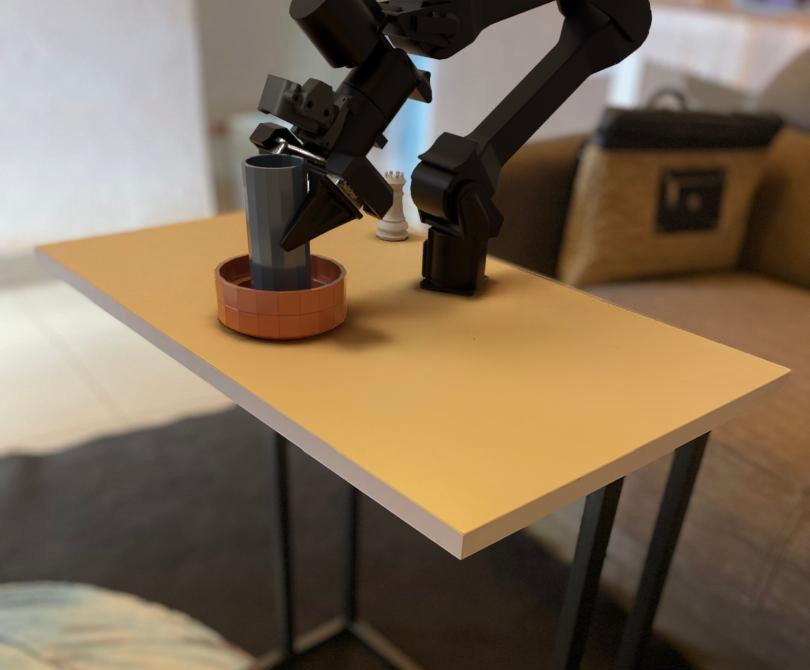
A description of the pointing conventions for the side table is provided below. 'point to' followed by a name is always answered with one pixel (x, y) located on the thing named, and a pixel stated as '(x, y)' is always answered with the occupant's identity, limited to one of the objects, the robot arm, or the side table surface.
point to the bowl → (281, 301)
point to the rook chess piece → (394, 211)
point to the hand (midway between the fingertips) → (267, 240)
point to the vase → (275, 221)
